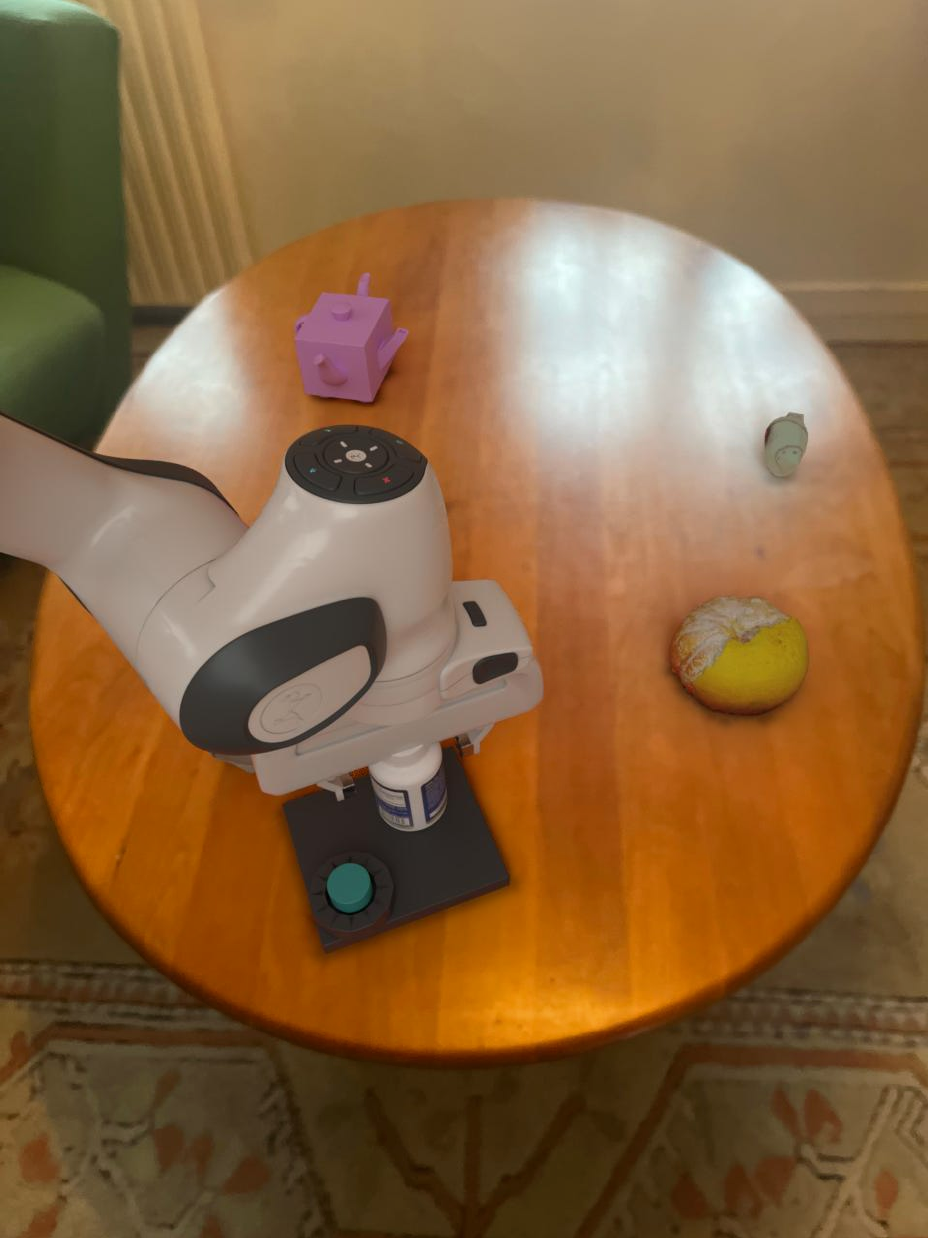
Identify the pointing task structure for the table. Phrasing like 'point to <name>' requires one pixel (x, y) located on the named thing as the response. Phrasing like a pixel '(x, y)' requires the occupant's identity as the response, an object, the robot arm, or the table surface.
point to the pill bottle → (411, 787)
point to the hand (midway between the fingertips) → (406, 769)
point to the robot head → (785, 443)
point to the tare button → (349, 887)
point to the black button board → (392, 857)
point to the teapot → (347, 344)
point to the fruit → (740, 655)
